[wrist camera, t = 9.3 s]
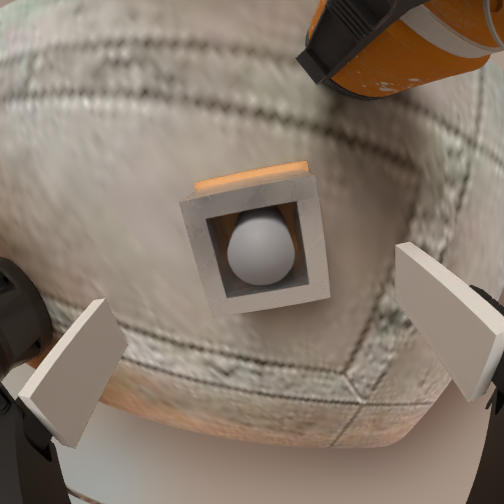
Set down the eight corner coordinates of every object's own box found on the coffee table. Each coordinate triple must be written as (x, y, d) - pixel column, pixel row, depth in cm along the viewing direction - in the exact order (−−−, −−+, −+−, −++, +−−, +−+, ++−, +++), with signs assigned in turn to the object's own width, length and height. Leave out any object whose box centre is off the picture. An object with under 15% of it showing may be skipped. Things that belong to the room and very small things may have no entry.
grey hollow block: (223, 278, 25) (213, 317, 19) (200, 188, 22) (179, 202, 16) (315, 262, 24) (330, 297, 18) (300, 168, 21) (315, 175, 15)
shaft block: (222, 279, 26) (208, 327, 19) (197, 182, 23) (169, 197, 16) (320, 261, 25) (340, 305, 18) (304, 160, 22) (324, 166, 15)
